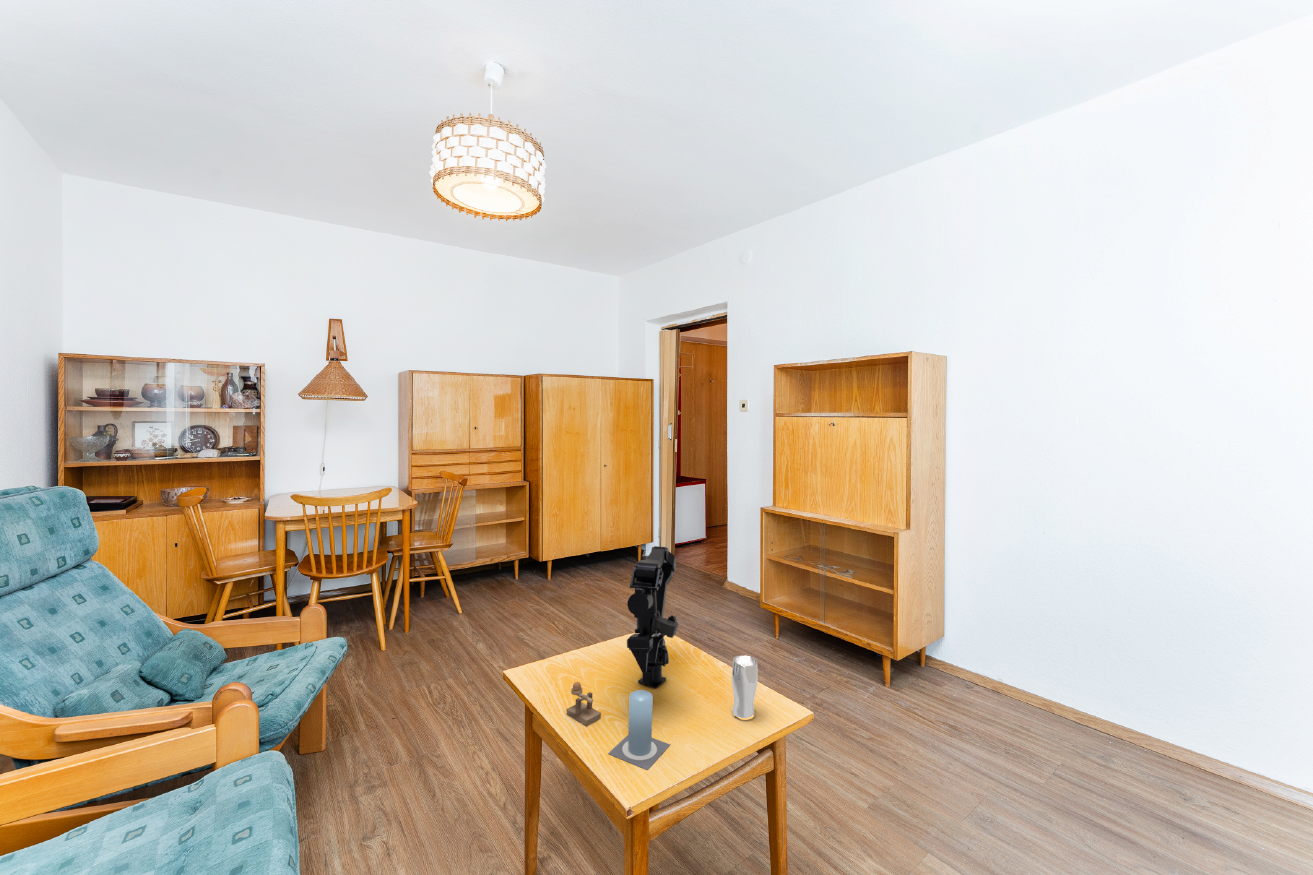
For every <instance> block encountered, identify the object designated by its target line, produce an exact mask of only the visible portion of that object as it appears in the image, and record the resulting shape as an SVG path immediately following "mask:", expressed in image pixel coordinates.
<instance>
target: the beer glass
mask: <svg viewBox="0 0 1313 875" xmlns="http://www.w3.org/2000/svg"><path fill="white" fill-rule="evenodd" d="M758 668H759V667H758V660H757V659H756V658H755V657H753V656H750V655H736V656H734V657H733V659H732V668H731V669H732V670H731V683H732V684H731V686H732V692H733V705H732V709H731V710H732V711H731V712H733V714H734V715H735V716H736V717H741V718H748V717H751V716H752V715H754V712H755V706H754V705H755V704H754V702H755V697H756V696H755V695H756V691H757V686H758V679H759V678H758V677H759V676H758V674H759V671H758ZM733 714H732V715H733Z"/></svg>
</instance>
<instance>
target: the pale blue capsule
mask: <svg viewBox="0 0 1313 875" xmlns="http://www.w3.org/2000/svg"><path fill="white" fill-rule="evenodd" d="M628 699H629V700H628V701H629V702H628V707H629V708H628V732H627V733H628V734H627V735H628V751H629V752H630V753H631V754H633V755H635V756H644V755H647V754H649V753H650V751H651V738H653V737H652V736H653V735H652V734H653V732H652V730H653V694H652V693H651V692H649V691H648V690H642V689H638V690H634V691H632V692H631V693H630V694H629V697H628Z"/></svg>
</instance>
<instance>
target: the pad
mask: <svg viewBox="0 0 1313 875" xmlns="http://www.w3.org/2000/svg"><path fill="white" fill-rule="evenodd" d="M670 746H671V743H667V742H664V741H661V740H659V739H657V738H654V737H652V738H651V751H650V753H649V754H647V755H644V756H635V755H633V754H631V753H630V752H629V751H628V734H627V735H626V736H625V737H624V738H623V739H622V740H621V741H619V743H618V744H616V746H614V747H613V748H612V749H611V750H610V751H609V752H608V753H607V755H609V756H613V757H615V758H616V759H620V760H622V761H624V762H627V763H629V764H631V765H634V766H637V767H638V768H641V769H643V770H646V771H648V770H649V769H651V767H652V766H653V765H654V763H656V761H658V759H659V758H660V757H661V756H662V755H663V754H664V752H666V750H667V749H668V748H669V747H670Z"/></svg>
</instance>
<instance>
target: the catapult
mask: <svg viewBox="0 0 1313 875" xmlns="http://www.w3.org/2000/svg"><path fill="white" fill-rule="evenodd" d="M570 694H571V695H574V696H576V697H577V698H576V699H575V704H573V705H572V706H569V707H568V708H566V715H567V716H568V717H570V718H572V719H573V720H575V721H577V722H579V723H580V724H582V725H584V726H586V727H588V726H590V725H592V724H594V723H595V722H597V721H599V720H601V718H602V712H601V711H599V710H597V709H594V708H593V702H594V699H593V692H591V691H589V692H587V693H586V694H585V693H583V687H582V685H581V683H580V682H579V681H575V682H574V683H573V684H572V688H571V690H570ZM583 701H586V703H584V702H583Z"/></svg>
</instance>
